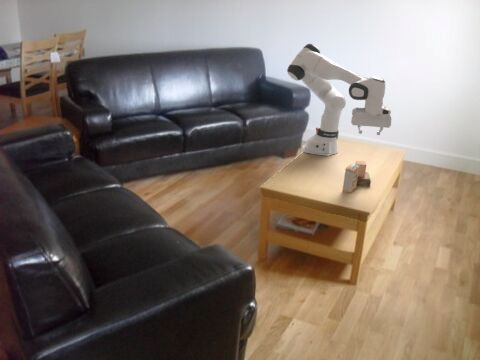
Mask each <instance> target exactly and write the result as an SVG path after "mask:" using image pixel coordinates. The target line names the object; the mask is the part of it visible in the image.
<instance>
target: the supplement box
mask: <svg viewBox="0 0 480 360" xmlns="http://www.w3.org/2000/svg"><path fill="white" fill-rule="evenodd" d="M358 172H359V166H358V165H355V164H354V163H350V164H348V166H347V167H346V168H345V172H344V178H343V185H342V192H344V193H346V194H347V193H348V194H351V193H352V192H353V191H354V190H356V188H357V185H356V184H357V178H358Z"/></svg>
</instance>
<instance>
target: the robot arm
mask: <svg viewBox="0 0 480 360" xmlns="http://www.w3.org/2000/svg"><path fill="white" fill-rule="evenodd" d="M286 70H287V74H288V75H289V77H290V78H291V79H292V80H295V81H302V83H303V84H304V85H305V86H306V87H307V88H308V89H309V91H311V92H312V93H313V94H314V95H315V96H316V97H317V98H318V99H319V100H320V101H321V102H322V103H323V104H324V105H325V106H324V109H323V110H324V111H323V113H322V115H321V117H320V127H315V131H316V132H315V133H314V134H313V135H312V136H310V137H308V139H307V140H306V142H305V144H303V145H302V147H301V150H302V151H303V153H305V154H312V155H318V156H319V155H320V156H325V157H330V156H332V155H336V154H338V152H339V150H338V138H339V133H340V131H339V126H340V119H341V115H342V112H343V109H345V107H346V99H345V97H344V95H343V94H342V93H341V92H340V91H339V90H338V89H336V87H334V86H333V85H332V83H331V82H330V81H331V80H333V81H334V80H337V81H342V82H344V83H347V84H349V87H348V95H349V97H350V98H351V99H353V100H355V101H365V102H364V107H355V108H353V109H352V111H351V121H350V123H351V125H352V126H357V129H358V135H359V134H361V135H362V134H363V133H362V132H363V130H362V129H360V128H361V127H373V128H374V127H375V128H379V130H376V136H380V135H381V133H382V132H383V130H384V128H385V129H387V128H390V127H391V126H392V116H391V111H392V110H391V109H390V108H389V107H388V106H385V105H384V103H383V101H384V97H385V93H386V80H384V78H382V77H380V76H375V75H374V76H370V77H366V76H361V75H359V74H357V73H355V72H353V71H351V70H350V69H347V68H345V67H343V66H341V65H340V64H338V63H336V62H334V60H331V59H330V58H328V57H327V56H325V55H323V54H321V50H320V48H318V46H316V45H315V44H313V43H308V44H305V45H304V46H303V48H302V49H301V50H300V51H299V52H298V53H297V54H296V56H295V57H294V58H293V60H292V61H291V63H290V64H289V65H288V67H287V69H286Z"/></svg>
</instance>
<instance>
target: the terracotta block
mask: <svg viewBox="0 0 480 360" xmlns="http://www.w3.org/2000/svg"><path fill="white" fill-rule="evenodd" d="M354 165H358V166H359V172H358V177H365V172H367V171H366V170H367V163H366V161H363V160H362V161H361V160H355V164H354Z"/></svg>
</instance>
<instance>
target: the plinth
mask: <svg viewBox="0 0 480 360" xmlns="http://www.w3.org/2000/svg"><path fill="white" fill-rule="evenodd" d="M371 182H372V180H371V177H370V173H369V172H368V171H365V177H358V178H357V184H356V186H359V187H360V186H361V187H371Z"/></svg>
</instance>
